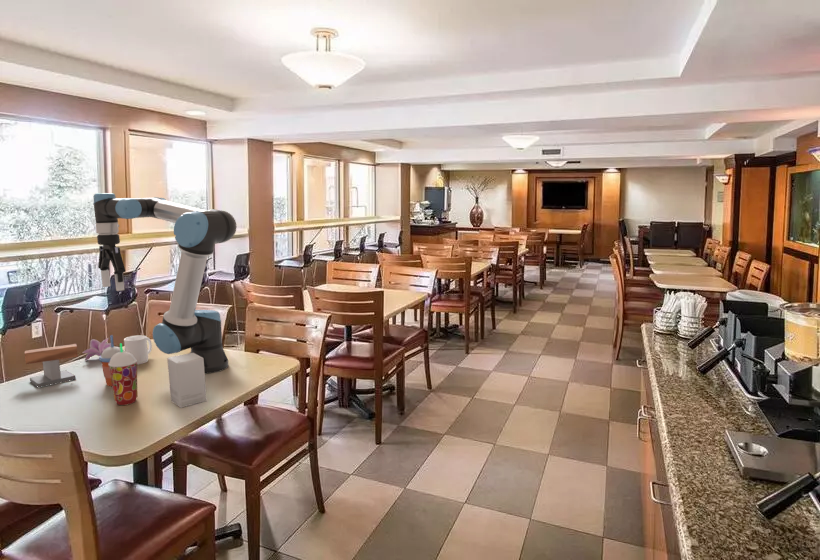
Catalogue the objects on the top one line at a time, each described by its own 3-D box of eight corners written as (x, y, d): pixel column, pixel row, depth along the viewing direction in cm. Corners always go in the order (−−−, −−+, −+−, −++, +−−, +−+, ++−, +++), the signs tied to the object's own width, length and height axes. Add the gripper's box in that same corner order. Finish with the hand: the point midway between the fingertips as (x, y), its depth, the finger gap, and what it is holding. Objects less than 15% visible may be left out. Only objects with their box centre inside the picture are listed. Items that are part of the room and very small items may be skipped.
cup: (121, 363, 227) (119, 339, 226) (144, 355, 239) (142, 332, 237) (137, 365, 225) (134, 341, 223) (159, 357, 236) (157, 334, 234)
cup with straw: (122, 377, 210) (117, 331, 207) (135, 382, 205) (130, 334, 202) (97, 384, 203) (91, 336, 200) (109, 389, 198) (104, 340, 195)
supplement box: (207, 401, 185) (204, 357, 183) (180, 408, 180) (176, 363, 177) (197, 394, 192) (193, 351, 190) (170, 400, 186) (166, 357, 184)
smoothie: (121, 397, 190) (115, 340, 187) (145, 397, 190) (139, 340, 186) (107, 406, 182) (100, 347, 178) (132, 406, 181) (126, 347, 178)
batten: (77, 356, 209) (76, 346, 208) (26, 364, 200) (24, 353, 199) (77, 354, 212) (76, 343, 211) (26, 361, 203) (24, 350, 203)
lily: (120, 357, 240) (110, 337, 241) (117, 353, 230) (107, 332, 230) (90, 370, 235) (80, 350, 235) (86, 367, 224) (76, 345, 225)
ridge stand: (75, 379, 209) (73, 357, 208) (38, 387, 200) (35, 364, 199) (66, 373, 216) (64, 352, 214) (30, 381, 207) (27, 359, 206)
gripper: (131, 234, 209) (136, 290, 212) (106, 232, 226) (111, 284, 229) (110, 236, 204) (115, 293, 207) (85, 233, 220) (91, 286, 223)
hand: (113, 288), depth 218 cm, fingers open, 13 cm apart
